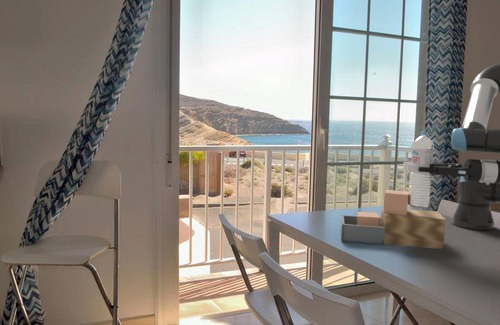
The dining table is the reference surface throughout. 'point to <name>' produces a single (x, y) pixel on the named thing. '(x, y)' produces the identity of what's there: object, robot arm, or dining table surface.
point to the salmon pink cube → (396, 202)
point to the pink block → (368, 219)
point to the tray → (360, 232)
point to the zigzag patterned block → (414, 229)
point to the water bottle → (421, 181)
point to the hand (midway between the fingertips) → (405, 166)
